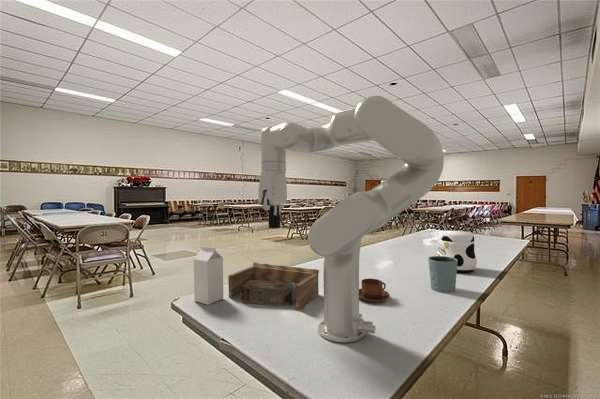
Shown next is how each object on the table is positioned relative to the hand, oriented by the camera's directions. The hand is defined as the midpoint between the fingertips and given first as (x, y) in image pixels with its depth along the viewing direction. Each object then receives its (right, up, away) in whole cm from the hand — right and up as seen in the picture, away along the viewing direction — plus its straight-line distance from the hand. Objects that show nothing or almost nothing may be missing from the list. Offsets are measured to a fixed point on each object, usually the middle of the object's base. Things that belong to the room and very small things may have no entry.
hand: (274, 227), depth 90 cm
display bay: (-2, -27, +17) cm, 32 cm away
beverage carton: (-3, -27, +13) cm, 30 cm away
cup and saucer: (+34, -27, +14) cm, 45 cm away
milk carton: (-25, -27, +14) cm, 39 cm away
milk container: (+84, -26, +51) cm, 101 cm away
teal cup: (+63, -26, +22) cm, 72 cm away
